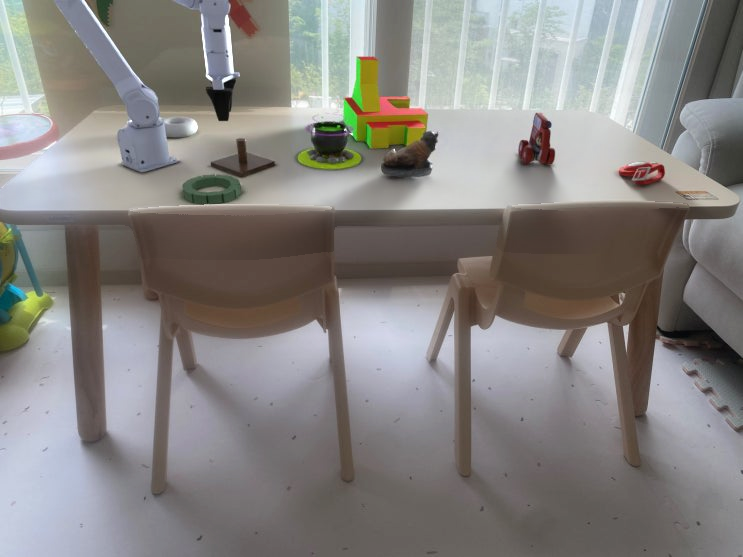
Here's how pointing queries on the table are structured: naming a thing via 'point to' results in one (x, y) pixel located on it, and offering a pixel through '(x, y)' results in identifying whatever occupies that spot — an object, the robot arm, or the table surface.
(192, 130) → the donut
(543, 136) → the toy fire truck
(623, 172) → the tracker holder
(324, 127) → the toy cauldron
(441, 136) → the table surface
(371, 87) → the building blocks toy
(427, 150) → the brown cat figurine
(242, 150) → the post
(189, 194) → the ring
